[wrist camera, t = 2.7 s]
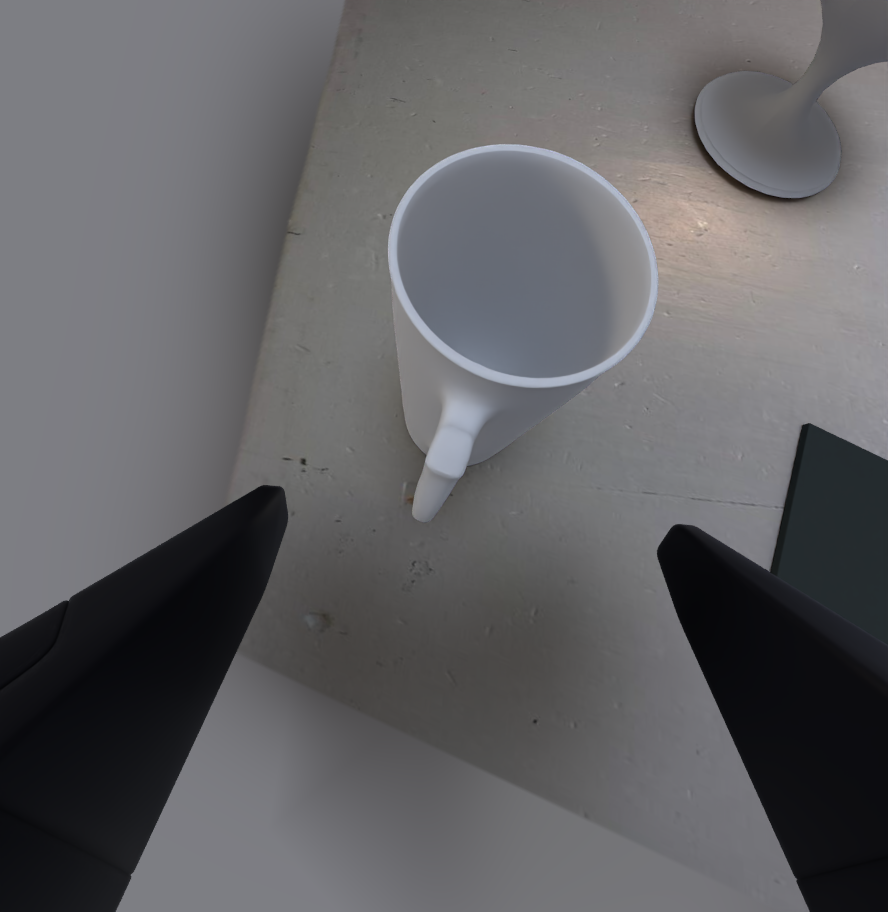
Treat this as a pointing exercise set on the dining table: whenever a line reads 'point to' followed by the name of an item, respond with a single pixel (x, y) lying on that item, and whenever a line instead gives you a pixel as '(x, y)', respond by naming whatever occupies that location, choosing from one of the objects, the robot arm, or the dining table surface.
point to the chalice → (790, 108)
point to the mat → (837, 530)
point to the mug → (508, 299)
